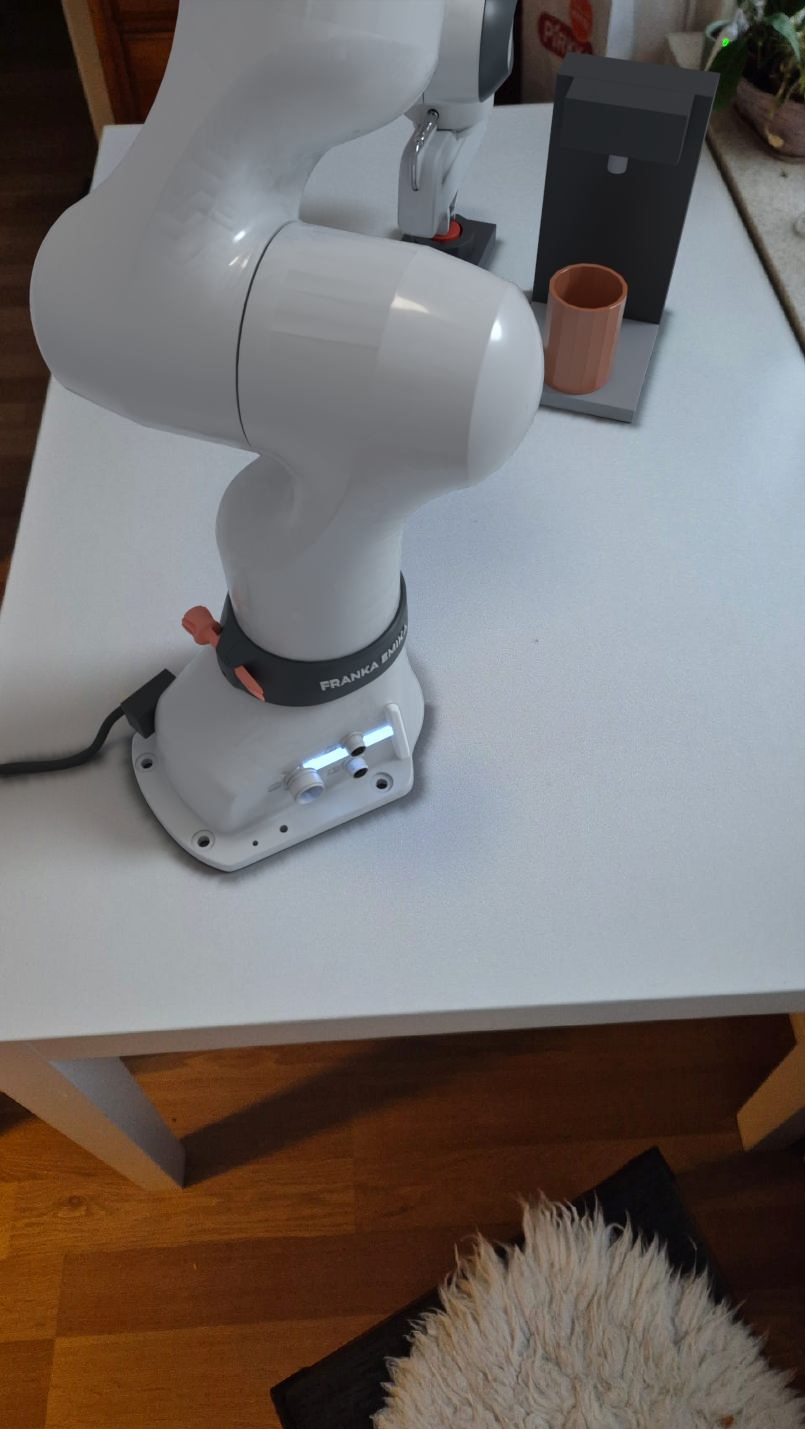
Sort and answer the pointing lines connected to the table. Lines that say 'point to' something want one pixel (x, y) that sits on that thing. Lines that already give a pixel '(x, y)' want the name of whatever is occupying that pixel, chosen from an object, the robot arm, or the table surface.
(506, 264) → the table surface
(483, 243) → the control block
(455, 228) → the button
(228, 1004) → the table surface
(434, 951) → the table surface
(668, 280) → the coffee maker
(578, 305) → the cup
